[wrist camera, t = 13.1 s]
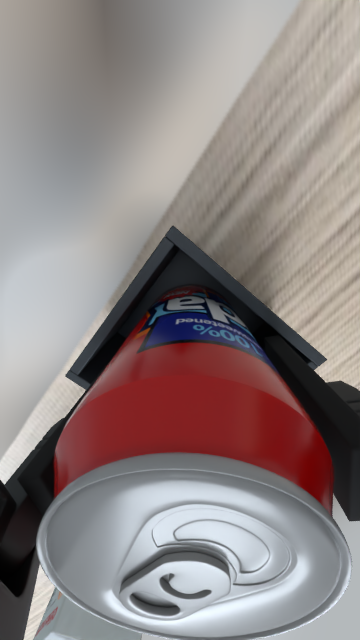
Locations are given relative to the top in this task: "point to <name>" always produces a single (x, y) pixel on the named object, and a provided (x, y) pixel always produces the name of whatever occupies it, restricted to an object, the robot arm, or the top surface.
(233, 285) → the open top storage bin
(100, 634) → the ink box
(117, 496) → the soda can
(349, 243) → the top surface
